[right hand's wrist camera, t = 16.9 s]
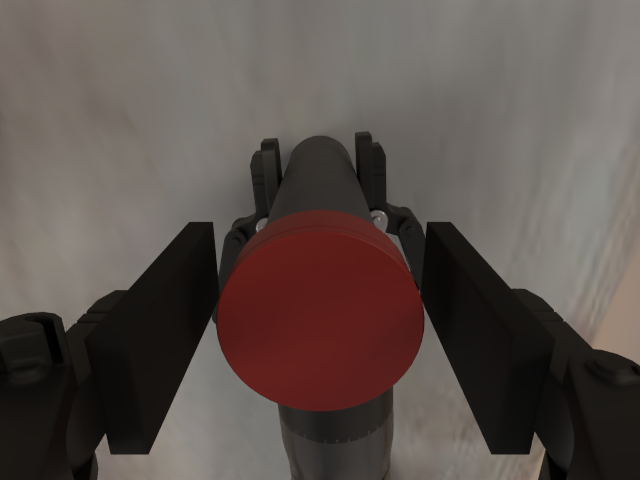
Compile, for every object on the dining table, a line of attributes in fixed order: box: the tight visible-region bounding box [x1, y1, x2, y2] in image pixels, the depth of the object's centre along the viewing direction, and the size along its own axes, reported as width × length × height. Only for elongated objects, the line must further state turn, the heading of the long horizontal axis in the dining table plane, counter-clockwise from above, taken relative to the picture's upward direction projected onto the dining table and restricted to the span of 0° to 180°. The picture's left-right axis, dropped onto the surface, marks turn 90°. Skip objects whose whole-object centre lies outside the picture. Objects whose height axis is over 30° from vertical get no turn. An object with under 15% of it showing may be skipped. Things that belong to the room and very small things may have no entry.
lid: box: [216, 210, 424, 411], centre depth 11 cm, size 5×5×2 cm
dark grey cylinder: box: [265, 136, 375, 226], centre depth 20 cm, size 4×4×19 cm
